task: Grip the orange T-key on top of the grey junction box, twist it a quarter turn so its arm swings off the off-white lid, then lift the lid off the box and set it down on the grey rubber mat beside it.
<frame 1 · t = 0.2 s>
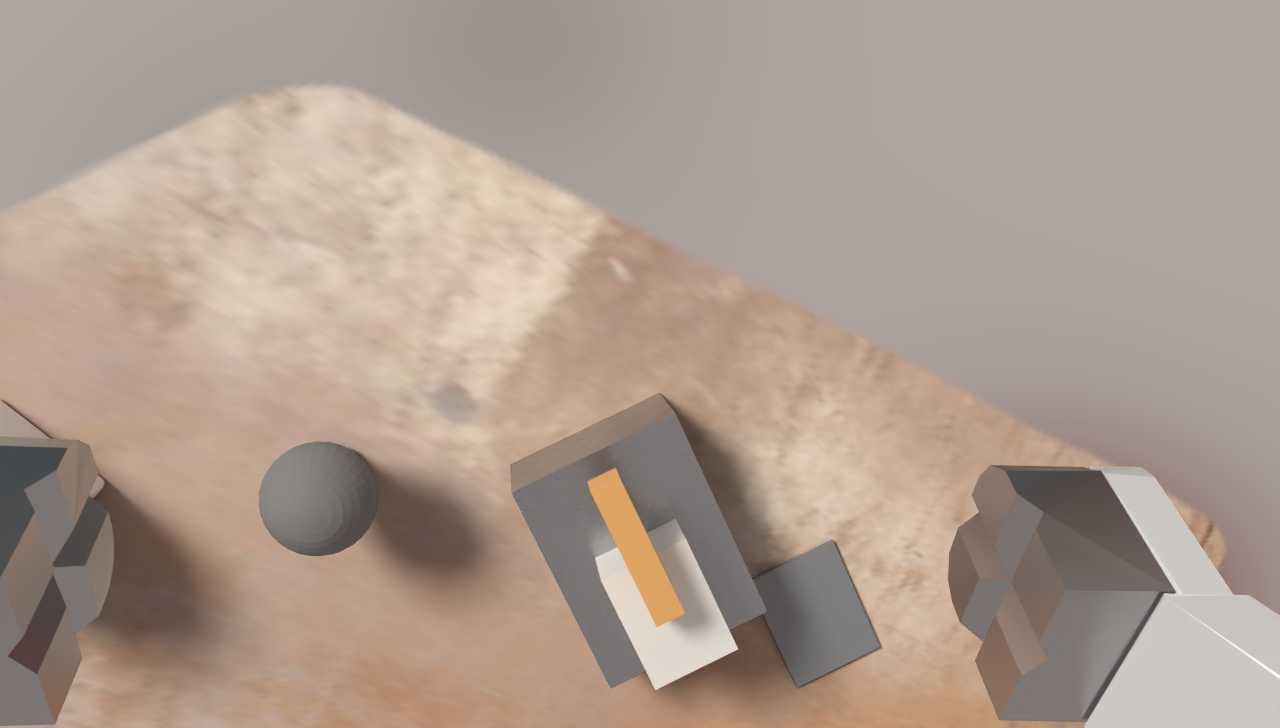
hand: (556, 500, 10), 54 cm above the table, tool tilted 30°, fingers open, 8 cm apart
container: (10, 486, 61), on the table
mat: (813, 613, 69), on the table
light bulb: (339, 463, 64), on the table
junction box: (630, 520, 66), on the table
t key: (630, 533, 57), point 9 cm above the table, hinge at 0.0°
lid: (660, 591, 61), point 6 cm above the table, touching junction box
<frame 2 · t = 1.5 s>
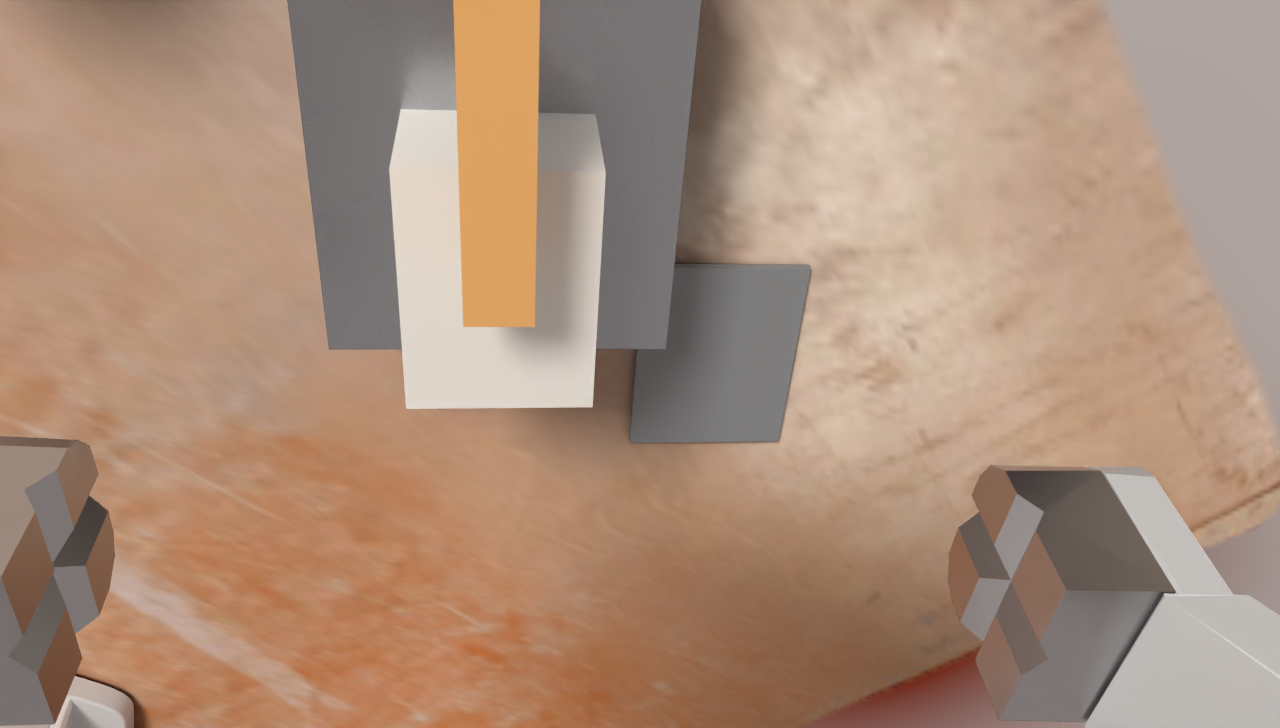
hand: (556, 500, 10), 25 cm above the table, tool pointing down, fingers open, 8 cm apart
mat: (714, 355, 41), on the table
junction box: (499, 65, 33), on the table
t key: (498, 103, 24), point 9 cm above the table, hinge at 0.0°
lid: (499, 231, 30), point 6 cm above the table, touching junction box
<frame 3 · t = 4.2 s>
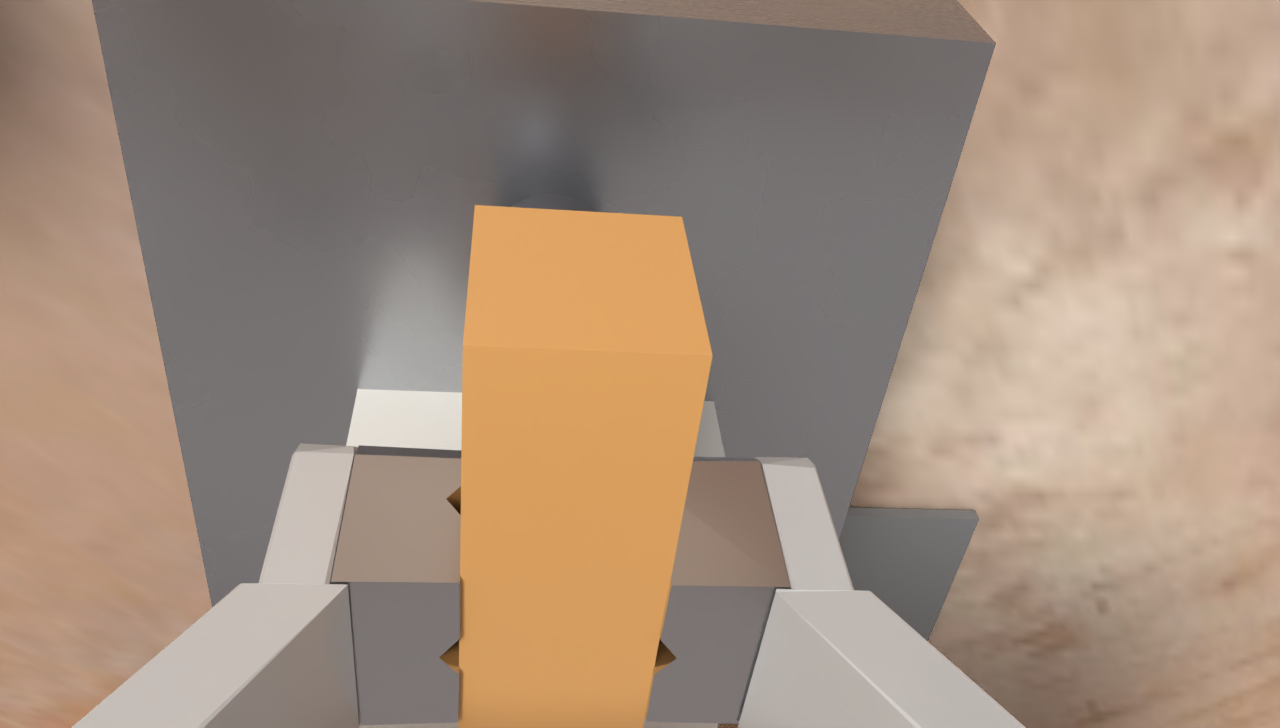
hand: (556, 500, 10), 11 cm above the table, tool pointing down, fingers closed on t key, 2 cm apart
mat: (820, 616, 28), on the table
junction box: (535, 237, 20), on the table
t key: (548, 470, 12), point 9 cm above the table, hinge at 0.0°, touching gripper
lid: (528, 564, 17), point 6 cm above the table, touching junction box
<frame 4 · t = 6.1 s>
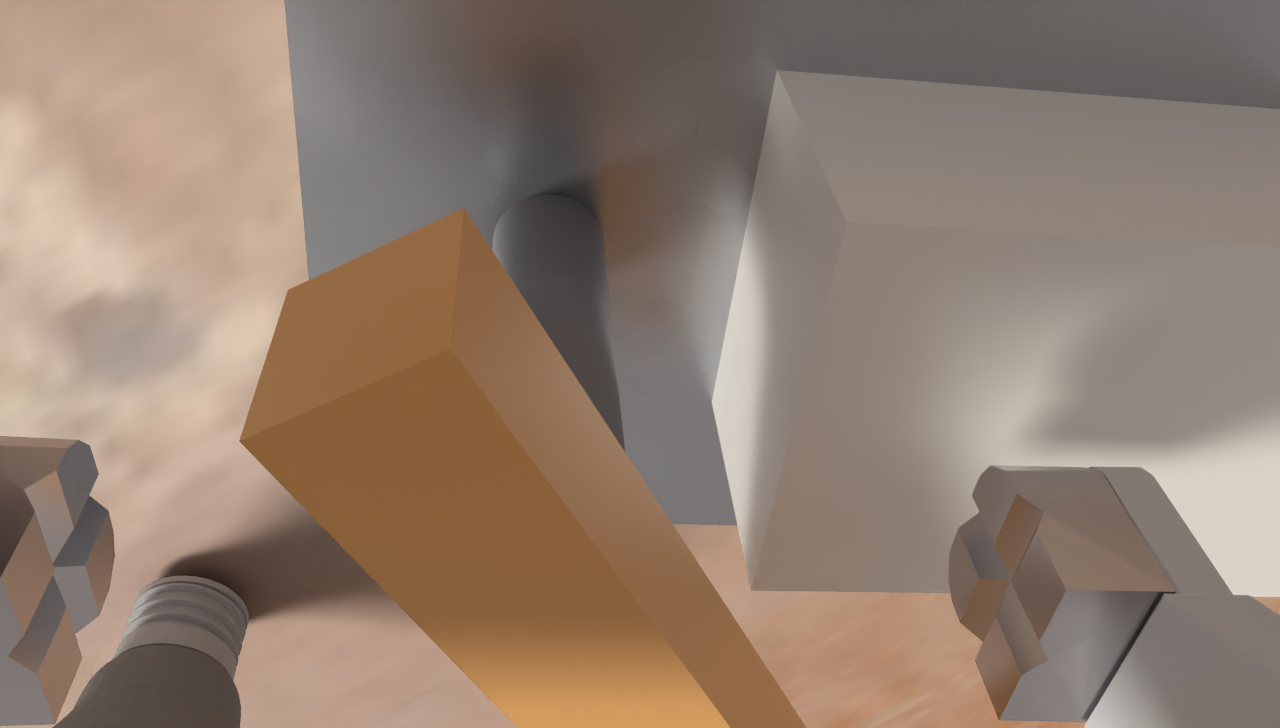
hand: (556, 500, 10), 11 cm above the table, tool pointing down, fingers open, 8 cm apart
light bulb: (199, 591, 26), on the table
junction box: (743, 76, 19), on the table
t key: (594, 463, 12), point 9 cm above the table, hinge at -58.7°
lid: (995, 267, 14), point 6 cm above the table, touching junction box
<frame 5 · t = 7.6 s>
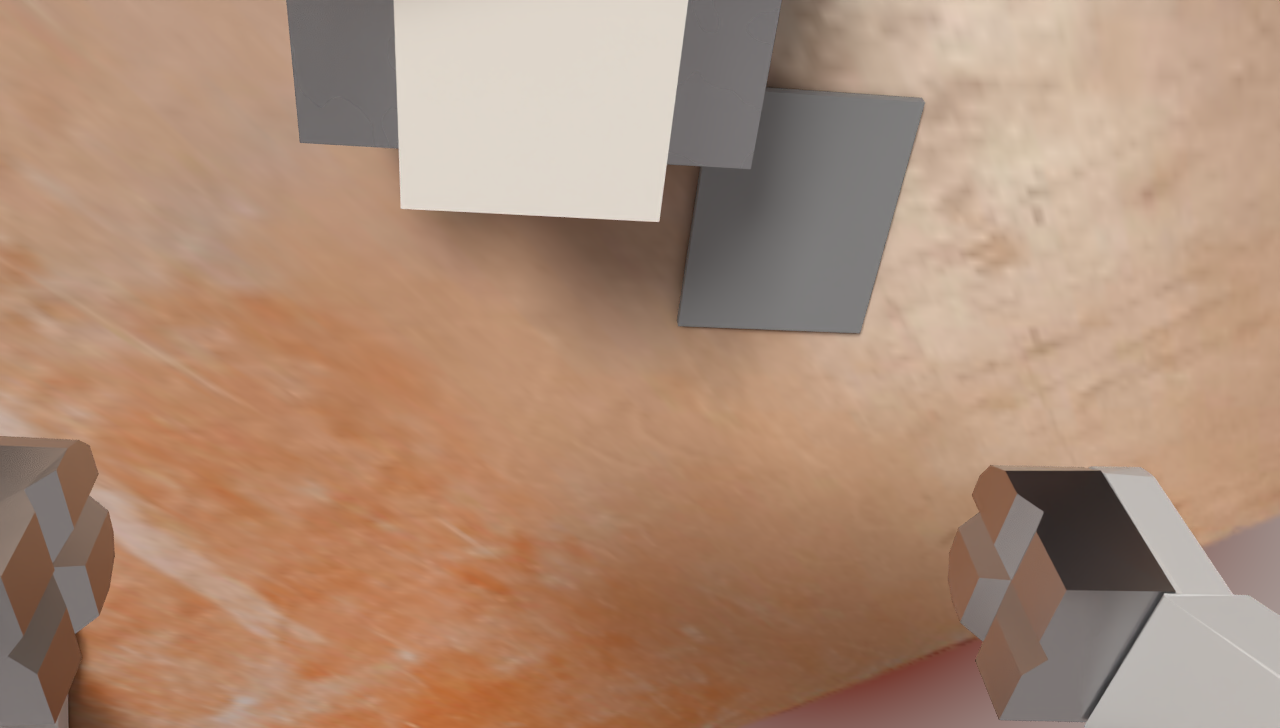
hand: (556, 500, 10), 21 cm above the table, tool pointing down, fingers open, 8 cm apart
mat: (791, 216, 32), on the table
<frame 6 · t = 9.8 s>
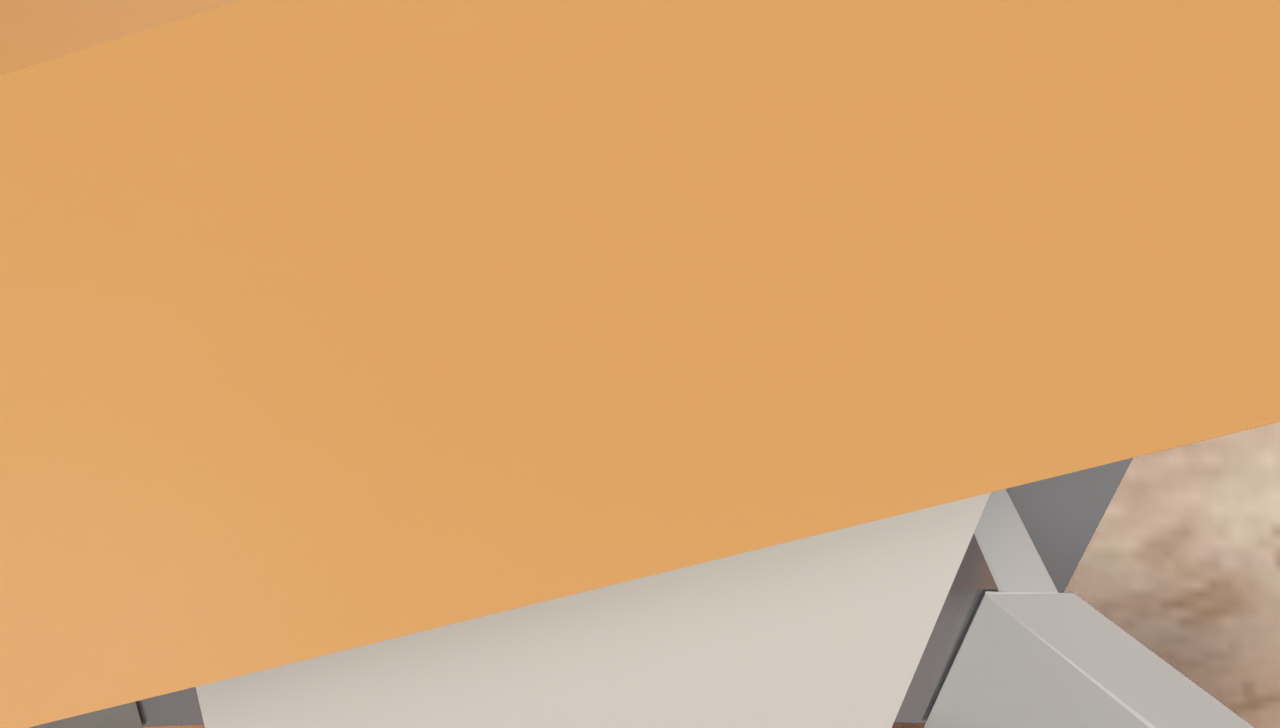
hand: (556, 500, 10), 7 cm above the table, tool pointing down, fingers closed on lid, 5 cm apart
mat: (922, 569, 22), on the table
lid: (553, 436, 11), point 6 cm above the table, touching gripper, junction box
when the fingers open (3 cm above the table, at t = 16.1 s): lid drops 1 cm, resting on mat.
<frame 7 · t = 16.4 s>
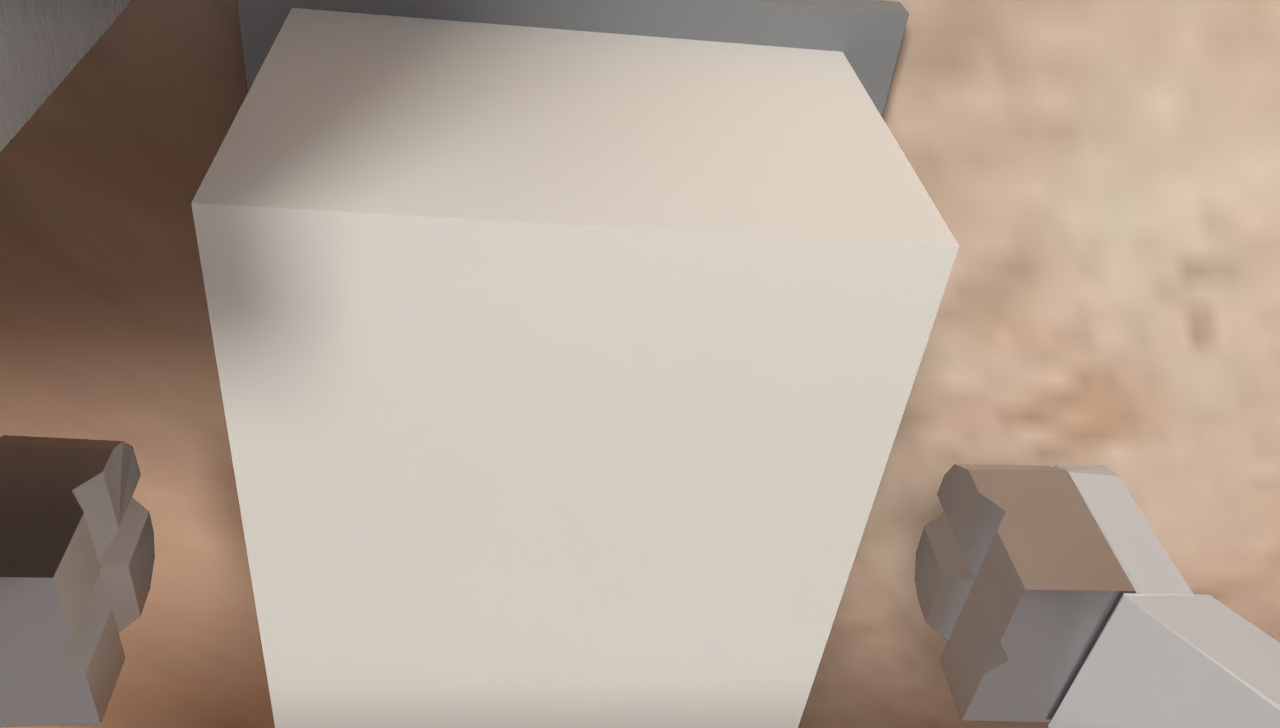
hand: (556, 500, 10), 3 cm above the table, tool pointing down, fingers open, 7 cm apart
mat: (555, 332, 12), on the table
lid: (552, 341, 12), resting on mat
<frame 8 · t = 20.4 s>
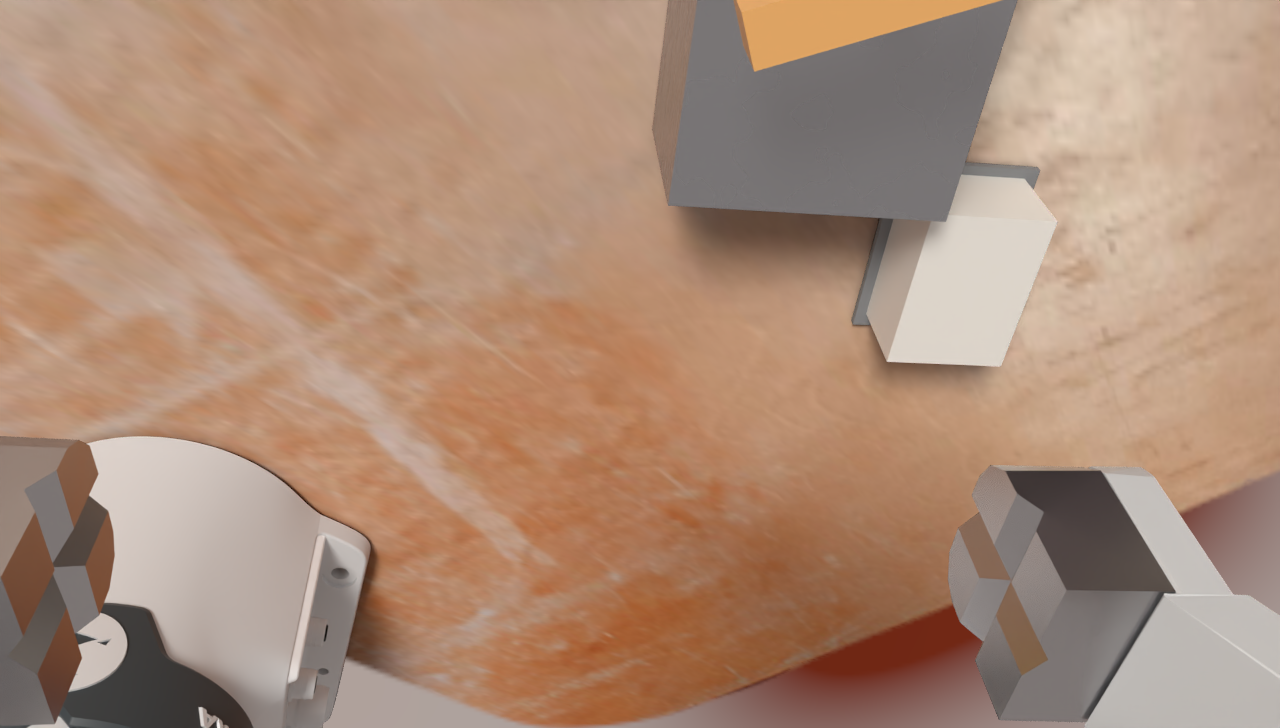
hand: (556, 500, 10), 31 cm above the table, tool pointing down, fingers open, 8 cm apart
mat: (940, 247, 46), on the table
lid: (942, 248, 46), resting on mat
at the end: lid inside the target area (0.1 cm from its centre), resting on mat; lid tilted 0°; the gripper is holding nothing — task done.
